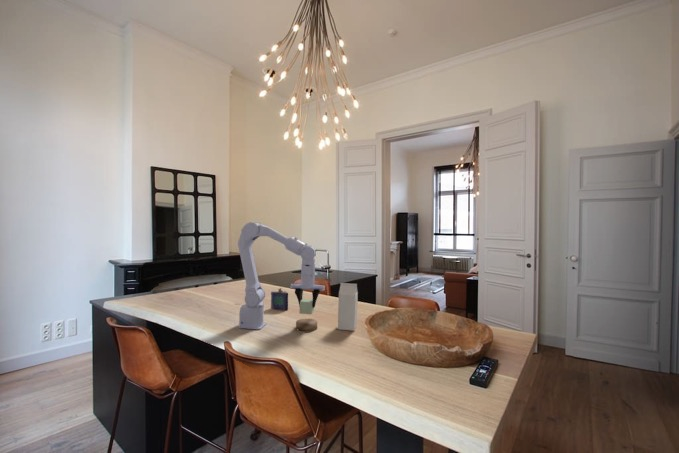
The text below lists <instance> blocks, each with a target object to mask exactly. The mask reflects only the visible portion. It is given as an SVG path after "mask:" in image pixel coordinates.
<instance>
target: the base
mask: <svg viewBox="0 0 679 453" xmlns="http://www.w3.org/2000/svg"><path fill="white" fill-rule="evenodd" d="M295 329H296V330H298V331H300V332H314V331H316V330H318V321H317V320H316V319H314V318H300V319H297V320H296V322H295Z"/></svg>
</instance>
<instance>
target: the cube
mask: <svg viewBox="0 0 679 453" xmlns="http://www.w3.org/2000/svg"><path fill="white" fill-rule="evenodd" d="M312 303H313V298H311V299H310V298H302V300H301V301H300V307H299V314H301V315H313V313H314V312H315V307H314V308H312Z"/></svg>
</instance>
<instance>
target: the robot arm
mask: <svg viewBox="0 0 679 453" xmlns="http://www.w3.org/2000/svg"><path fill="white" fill-rule="evenodd" d="M240 231H241V232H240V236H239V238H238V242H237V246H238V252H239V256H240V261H241V266H242V271H243V276H244V280H245V290H244V292H245V294H244V295H245V296H244V302H245V304H242V305H241V307H240V309H239V313H238V314H239V318H238V320H239V321H238V324H239V325H238V327H237V328H239V329H249V330H261V329H262V328H263V327H265V325H267V324H268V323H267V322H265V321H264V315H265V314H264V310H265V309H264V307H265V305H264V301H263V300H264V299H265V297H266V291H265V290H264V288H263V287H262V284H261V282H260V280H259V276H258V272H257V267H256V262H255V257H254V253H253V247H252V245H253V244H254V242H255V241H256V240H257V239H258V238H260V237H269V238H271V239H273V240H274V241H277V242H279V243H281V244H283V245H284V248H285V250H287V251H289V252H290V253H293V254H295V255H297V256H300V257H301V267H300V268H301V270H300V271H301V272H300V274H301V275H300V283H290V290H294V295H296V298H297V300H298V306H299V308H300V301H301V300H302V299H303V294H304V290H305V291H306V290H310V291H312V292H311V293H312V294H311V295H312V299H313V303H312V308H314V309H315V307H316V303H317V300H318V297H319V295H320V293H321V291H322V292H324V291H325V289H326V285H321V284H315V281H316V280H315V279H316V277H315V276H316V264H315V262H316V259H315V257H316V254H317V252H316V249H315V248H314V246H312V245H308V243H307V242H302V241H301V240H299V238H298V237H296V236H295V237H294V236H291V237H287V236H285V235H284V234H282V233H280V232H279V231H278V230H275V229H273V228H272V227H270V226H268V225H266V224H262V223H261V222H252V221H250V222H246V224H245V225H244V226H243V227H242V228H241V230H240Z"/></svg>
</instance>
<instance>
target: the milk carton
mask: <svg viewBox="0 0 679 453" xmlns="http://www.w3.org/2000/svg"><path fill="white" fill-rule="evenodd" d="M358 294H359V290H358V283H347V282H346V283H345V282H340V286H339V290H338V307H337V308H338V311H337V313H338V314H337V315H338V316H337V330H342V331H352V332H354V331H355V330H356V329H357V325H358V301H359V300H358V297H359V295H358Z"/></svg>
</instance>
